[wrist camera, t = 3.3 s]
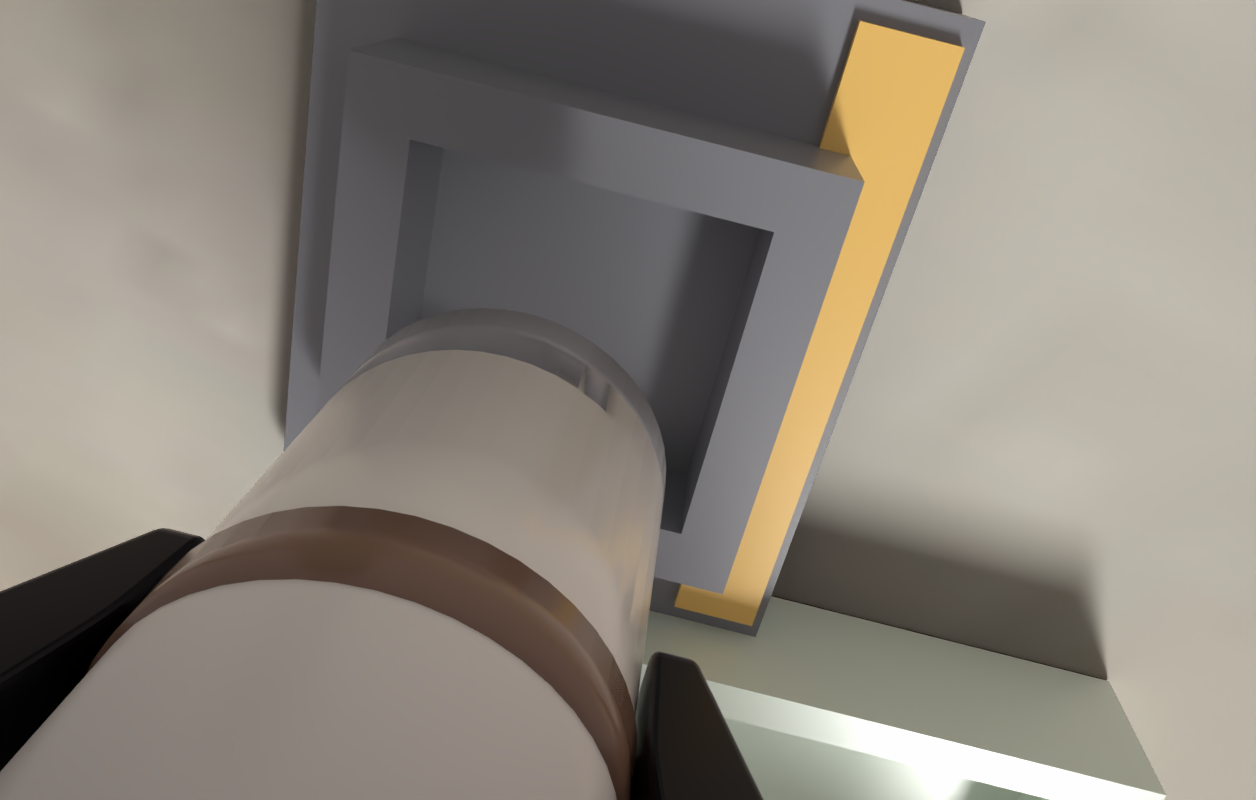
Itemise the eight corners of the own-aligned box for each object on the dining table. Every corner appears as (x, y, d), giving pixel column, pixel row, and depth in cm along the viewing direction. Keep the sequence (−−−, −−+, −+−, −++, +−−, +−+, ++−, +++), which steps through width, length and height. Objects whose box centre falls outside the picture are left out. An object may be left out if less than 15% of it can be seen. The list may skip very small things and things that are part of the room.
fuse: (628, 635, 12) (477, 1596, 5) (321, 557, 12) (-259, 1421, 5) (710, 354, 10) (653, 1245, 3) (350, 264, 10) (-483, 963, 3)
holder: (754, 591, 21) (757, 707, 18) (308, 479, 21) (231, 576, 17) (963, 14, 15) (1021, 34, 12) (363, -139, 15) (266, -161, 12)
